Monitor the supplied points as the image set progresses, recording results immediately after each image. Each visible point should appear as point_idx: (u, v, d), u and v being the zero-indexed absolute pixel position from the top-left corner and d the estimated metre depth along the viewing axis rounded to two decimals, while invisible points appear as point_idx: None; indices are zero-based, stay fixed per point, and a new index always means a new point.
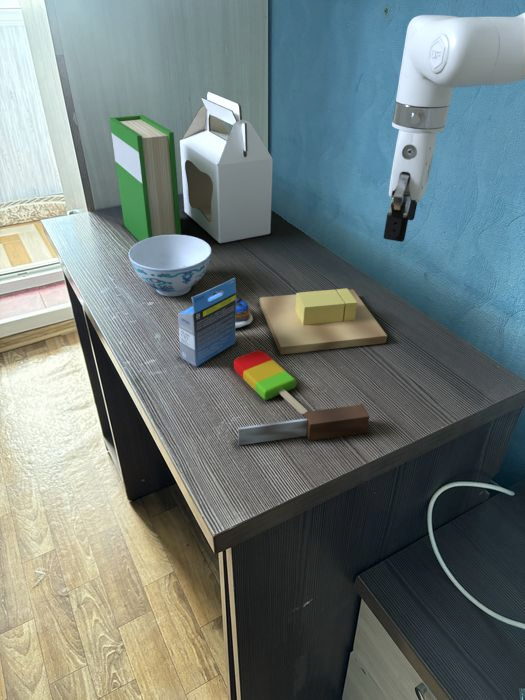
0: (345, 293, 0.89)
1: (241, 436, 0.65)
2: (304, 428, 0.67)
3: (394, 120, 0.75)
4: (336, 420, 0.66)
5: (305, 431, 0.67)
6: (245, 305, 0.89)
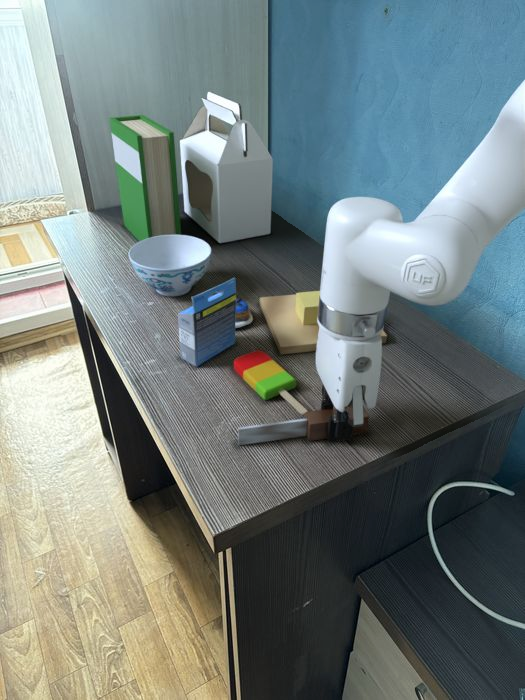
0: None
1: (240, 436, 0.65)
2: (304, 428, 0.67)
3: (328, 327, 0.56)
4: None
5: (305, 431, 0.67)
6: (245, 305, 0.89)
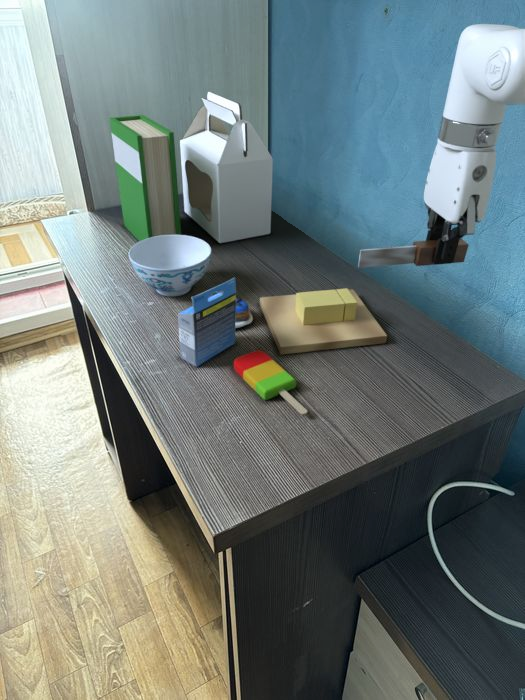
0: (345, 293, 0.89)
1: (362, 258, 0.77)
2: (413, 255, 0.79)
3: (452, 141, 0.68)
4: None
5: (413, 258, 0.79)
6: (245, 305, 0.89)
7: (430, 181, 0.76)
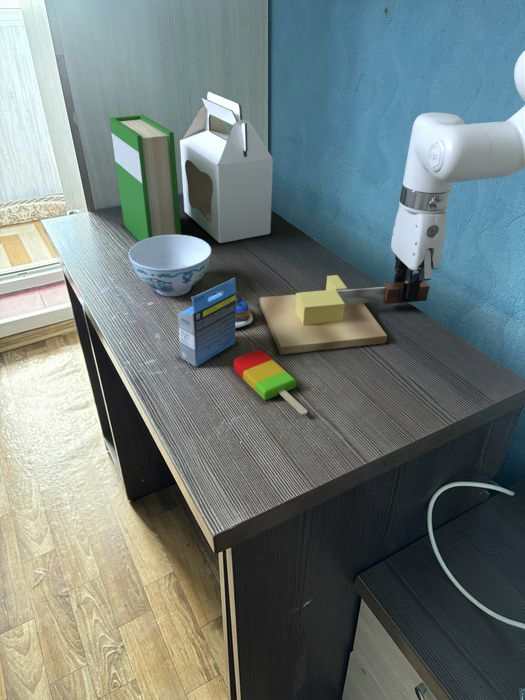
0: (336, 279, 0.93)
1: None
2: (382, 294, 0.93)
3: (410, 205, 0.82)
4: None
5: (383, 297, 0.93)
6: (245, 305, 0.89)
7: (395, 233, 0.90)
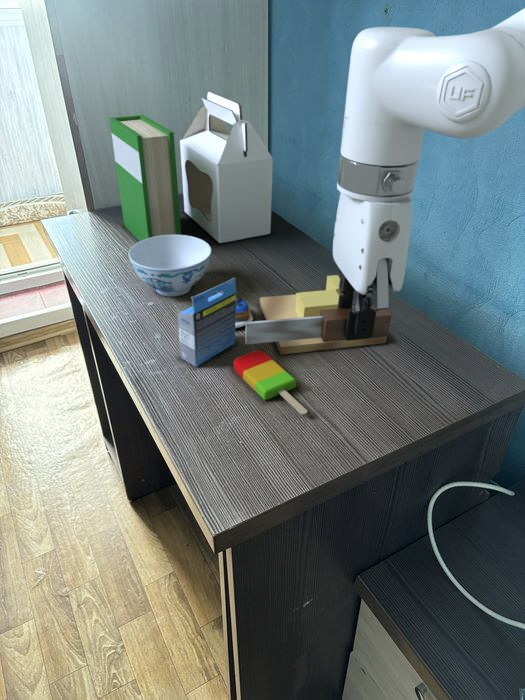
0: (336, 279, 0.93)
1: (248, 332, 0.58)
2: (319, 327, 0.60)
3: (351, 187, 0.49)
4: None
5: (320, 331, 0.60)
6: (245, 305, 0.89)
7: (336, 234, 0.57)
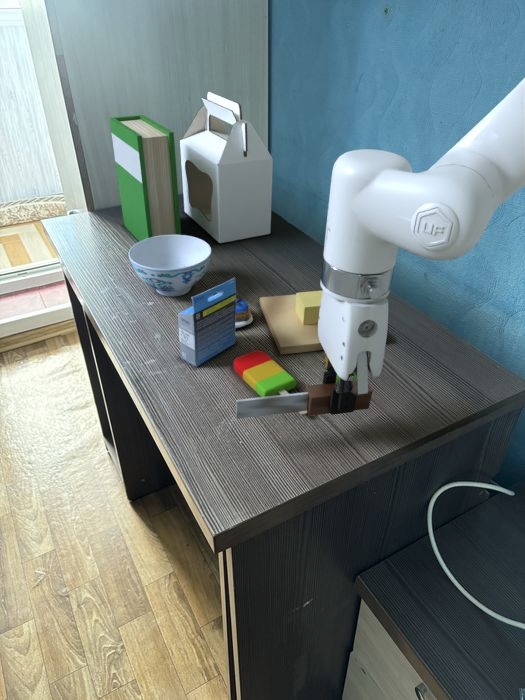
0: None
1: (239, 409, 0.63)
2: (305, 402, 0.64)
3: (332, 289, 0.53)
4: None
5: (306, 405, 0.65)
6: (245, 305, 0.89)
7: (321, 319, 0.61)
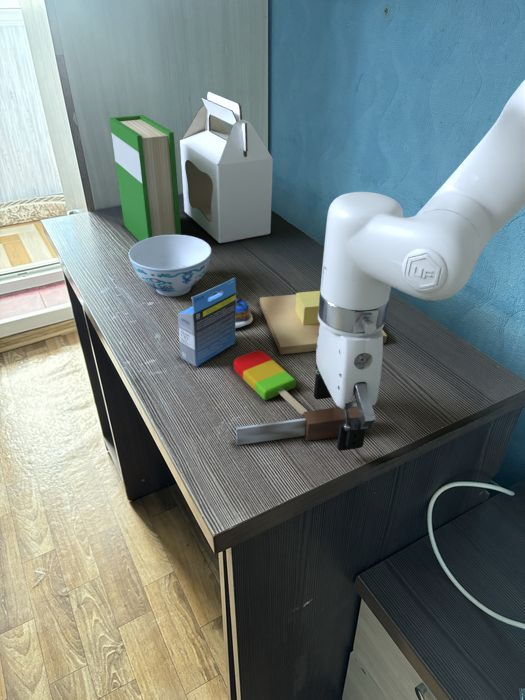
0: None
1: (239, 436, 0.65)
2: (302, 428, 0.67)
3: (329, 323, 0.56)
4: (334, 420, 0.66)
5: (303, 431, 0.67)
6: (245, 305, 0.89)
7: (319, 348, 0.64)
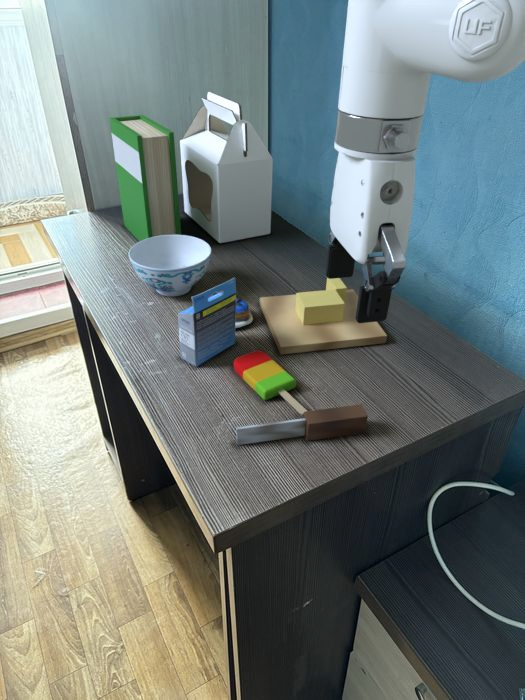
0: (336, 279, 0.93)
1: (239, 436, 0.65)
2: (302, 428, 0.67)
3: (349, 144, 0.45)
4: (334, 420, 0.66)
5: (303, 431, 0.67)
6: (245, 305, 0.89)
7: (334, 201, 0.53)
